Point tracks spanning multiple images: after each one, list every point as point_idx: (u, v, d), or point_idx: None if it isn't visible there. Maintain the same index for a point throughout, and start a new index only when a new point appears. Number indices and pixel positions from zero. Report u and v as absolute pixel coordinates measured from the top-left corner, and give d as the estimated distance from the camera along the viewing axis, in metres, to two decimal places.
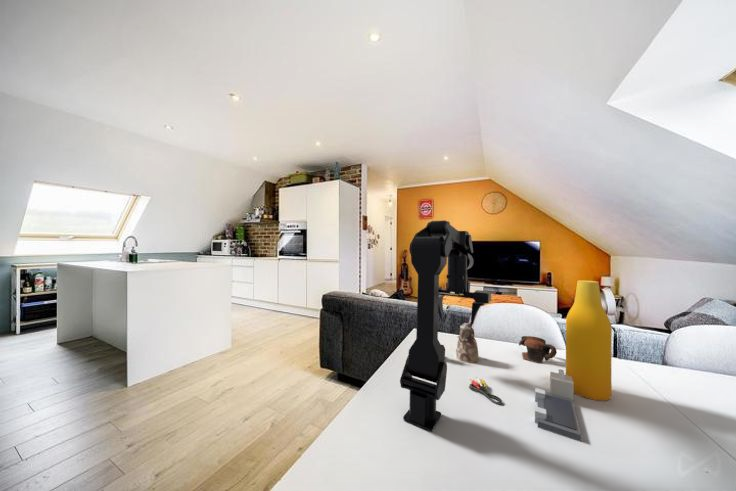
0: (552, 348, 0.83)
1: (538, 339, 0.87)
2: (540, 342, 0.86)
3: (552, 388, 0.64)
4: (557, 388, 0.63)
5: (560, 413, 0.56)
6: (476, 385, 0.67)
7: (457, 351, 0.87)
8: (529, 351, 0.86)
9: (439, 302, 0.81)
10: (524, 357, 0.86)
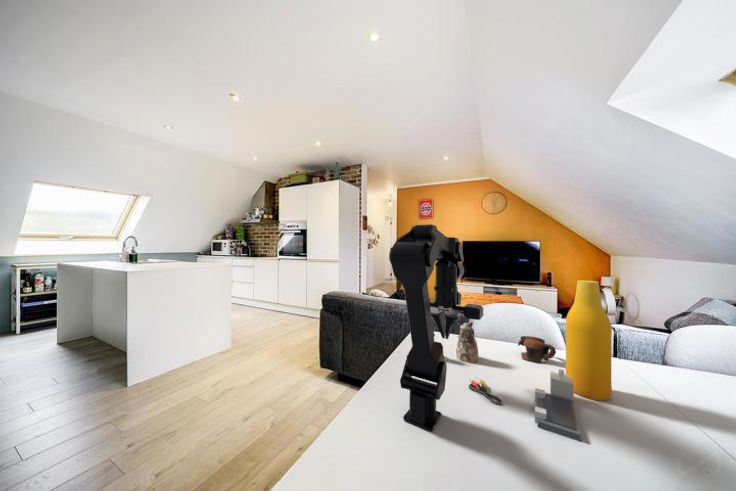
0: (551, 348, 0.83)
1: (537, 339, 0.87)
2: (539, 342, 0.86)
3: (552, 388, 0.64)
4: (557, 388, 0.63)
5: (560, 413, 0.56)
6: (476, 385, 0.67)
7: (457, 351, 0.87)
8: (528, 351, 0.86)
9: (441, 319, 0.70)
10: (523, 357, 0.86)
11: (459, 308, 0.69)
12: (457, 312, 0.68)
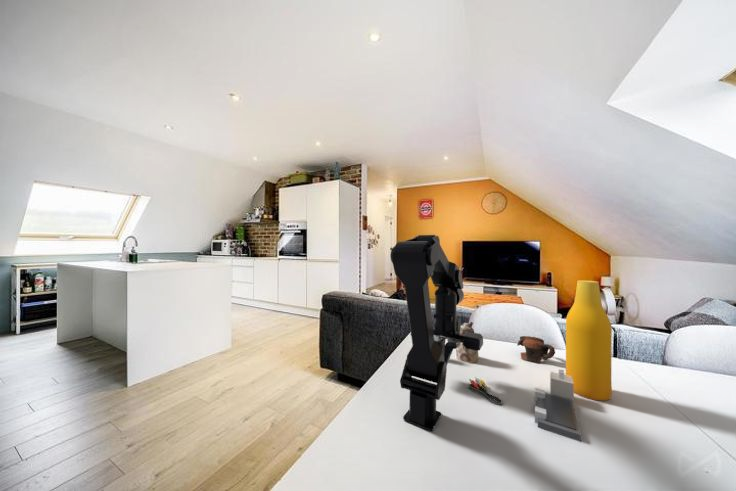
0: (550, 348, 0.83)
1: (536, 339, 0.87)
2: (538, 342, 0.86)
3: (552, 388, 0.64)
4: (557, 388, 0.63)
5: (560, 413, 0.56)
6: (475, 385, 0.67)
7: (457, 351, 0.87)
8: (527, 351, 0.86)
9: None
10: (523, 357, 0.86)
11: (459, 337, 0.68)
12: (456, 340, 0.68)
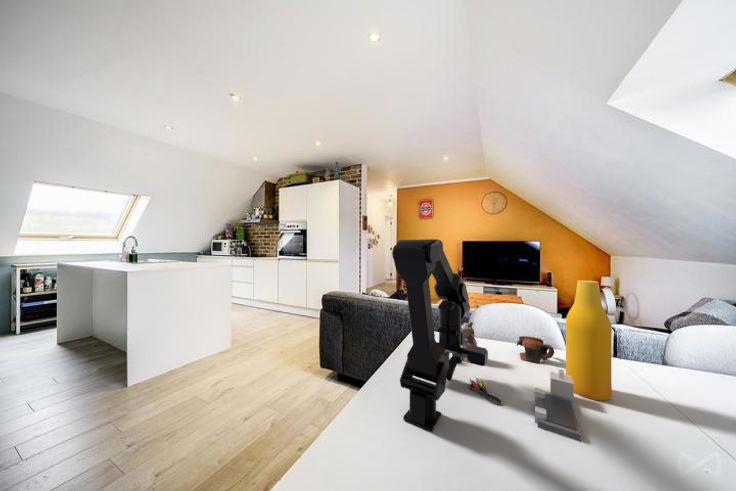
0: (550, 348, 0.82)
1: (536, 339, 0.87)
2: (538, 342, 0.86)
3: (552, 388, 0.64)
4: (557, 388, 0.63)
5: (560, 413, 0.56)
6: (476, 385, 0.67)
7: None
8: (526, 351, 0.85)
9: (445, 361, 0.69)
10: (522, 357, 0.86)
11: (463, 351, 0.68)
12: (460, 355, 0.68)
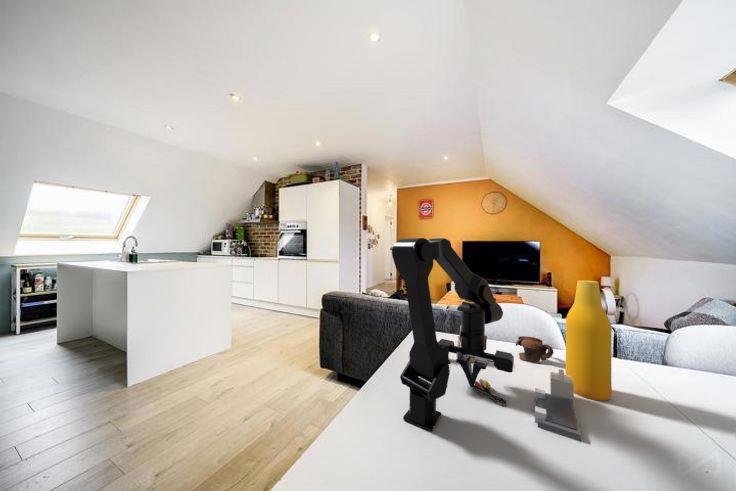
0: (549, 348, 0.82)
1: (535, 339, 0.87)
2: (537, 342, 0.86)
3: (552, 388, 0.64)
4: (557, 388, 0.63)
5: (560, 413, 0.56)
6: (480, 386, 0.66)
7: None
8: (525, 351, 0.85)
9: (468, 366, 0.66)
10: (521, 357, 0.86)
11: (488, 356, 0.65)
12: (484, 360, 0.65)
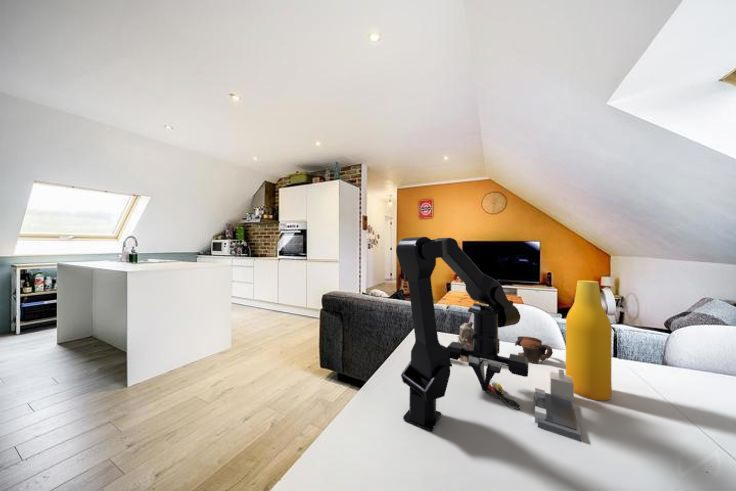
0: (548, 348, 0.82)
1: (534, 339, 0.87)
2: (536, 342, 0.86)
3: (552, 388, 0.64)
4: (557, 388, 0.63)
5: (560, 413, 0.56)
6: (492, 389, 0.65)
7: None
8: (525, 351, 0.85)
9: (481, 370, 0.64)
10: None
11: (501, 359, 0.63)
12: (498, 364, 0.63)
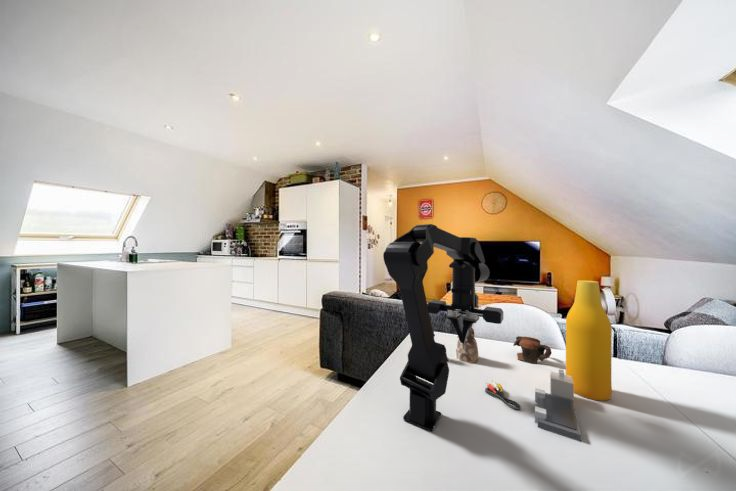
0: (547, 348, 0.82)
1: (533, 339, 0.87)
2: (535, 342, 0.86)
3: (552, 388, 0.64)
4: (557, 388, 0.63)
5: (560, 413, 0.56)
6: (492, 389, 0.65)
7: (457, 351, 0.87)
8: (523, 351, 0.85)
9: (459, 322, 0.67)
10: (519, 358, 0.86)
11: (478, 311, 0.66)
12: (475, 315, 0.66)
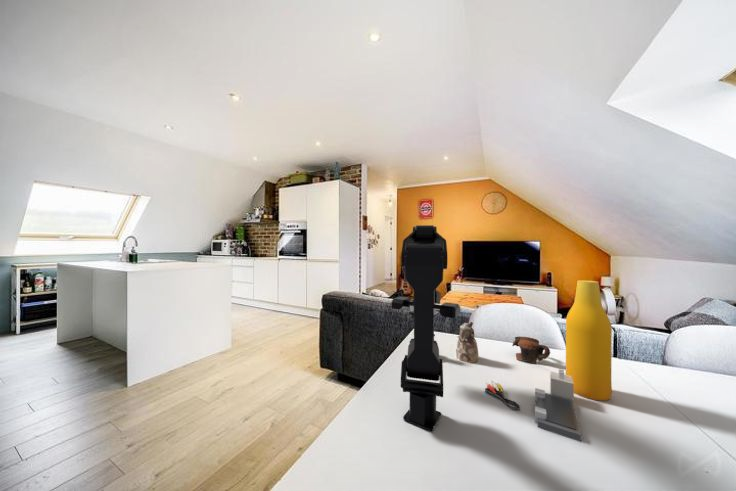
0: (546, 348, 0.82)
1: (532, 339, 0.87)
2: (534, 342, 0.86)
3: (552, 388, 0.64)
4: (557, 388, 0.63)
5: (560, 413, 0.56)
6: (492, 389, 0.65)
7: (457, 351, 0.87)
8: (522, 351, 0.85)
9: None
10: (518, 358, 0.86)
11: (437, 307, 0.70)
12: (434, 310, 0.70)
